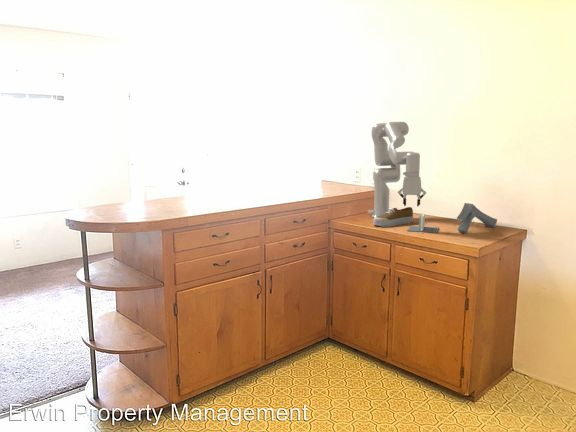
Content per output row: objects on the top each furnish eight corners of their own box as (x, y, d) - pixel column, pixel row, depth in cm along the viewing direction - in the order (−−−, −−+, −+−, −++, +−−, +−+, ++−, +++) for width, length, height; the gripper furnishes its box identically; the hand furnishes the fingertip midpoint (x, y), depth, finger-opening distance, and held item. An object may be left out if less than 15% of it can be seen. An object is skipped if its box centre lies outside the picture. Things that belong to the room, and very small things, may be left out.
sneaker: (368, 225, 295) (368, 209, 294) (405, 220, 309) (406, 204, 307) (379, 228, 287) (379, 211, 285) (416, 222, 300) (417, 206, 298)
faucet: (479, 244, 286) (451, 228, 268) (487, 217, 287) (461, 200, 269) (489, 246, 281) (461, 230, 263) (497, 218, 282) (471, 201, 264)
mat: (407, 231, 277) (407, 230, 277) (410, 226, 289) (410, 225, 289) (437, 232, 271) (437, 232, 271) (438, 228, 283) (438, 227, 283)
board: (418, 231, 275) (419, 217, 273) (421, 226, 286) (421, 213, 284) (422, 231, 274) (422, 217, 273) (424, 226, 285) (424, 213, 284)
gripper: (395, 175, 276) (395, 206, 279) (427, 175, 270) (426, 207, 273) (397, 173, 283) (397, 204, 286) (428, 174, 277) (427, 205, 280)
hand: (411, 205), depth 280 cm, fingers open, 6 cm apart
